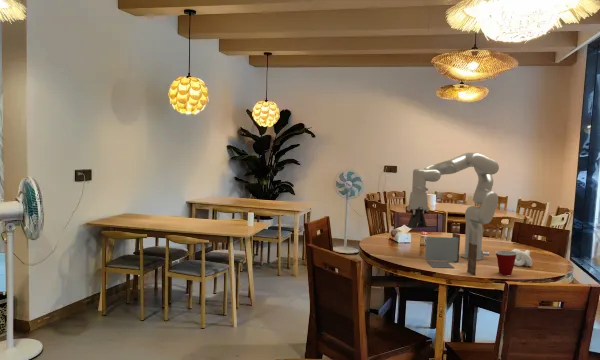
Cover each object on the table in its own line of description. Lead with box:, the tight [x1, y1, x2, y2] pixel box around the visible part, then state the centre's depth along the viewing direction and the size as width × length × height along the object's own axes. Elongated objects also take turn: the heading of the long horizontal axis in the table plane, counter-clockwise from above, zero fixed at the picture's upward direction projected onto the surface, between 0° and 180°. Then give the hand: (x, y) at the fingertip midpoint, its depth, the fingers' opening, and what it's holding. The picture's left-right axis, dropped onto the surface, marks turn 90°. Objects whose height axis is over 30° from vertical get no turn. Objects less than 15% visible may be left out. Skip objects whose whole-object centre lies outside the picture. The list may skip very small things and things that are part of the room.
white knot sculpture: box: [511, 248, 533, 267], centre depth 254 cm, size 11×12×9 cm
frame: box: [451, 232, 477, 276], centre depth 245 cm, size 2×35×16 cm, turn 178°
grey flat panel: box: [424, 236, 458, 262], centre depth 254 cm, size 2×18×14 cm, turn 88°
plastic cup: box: [494, 250, 517, 276], centre depth 232 cm, size 11×11×12 cm
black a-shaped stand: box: [407, 207, 427, 229], centre depth 258 cm, size 9×6×12 cm, turn 110°
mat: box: [426, 261, 455, 269], centre depth 247 cm, size 12×12×1 cm
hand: (417, 220), depth 258 cm, fingers closed on black a-shaped stand, 3 cm apart
